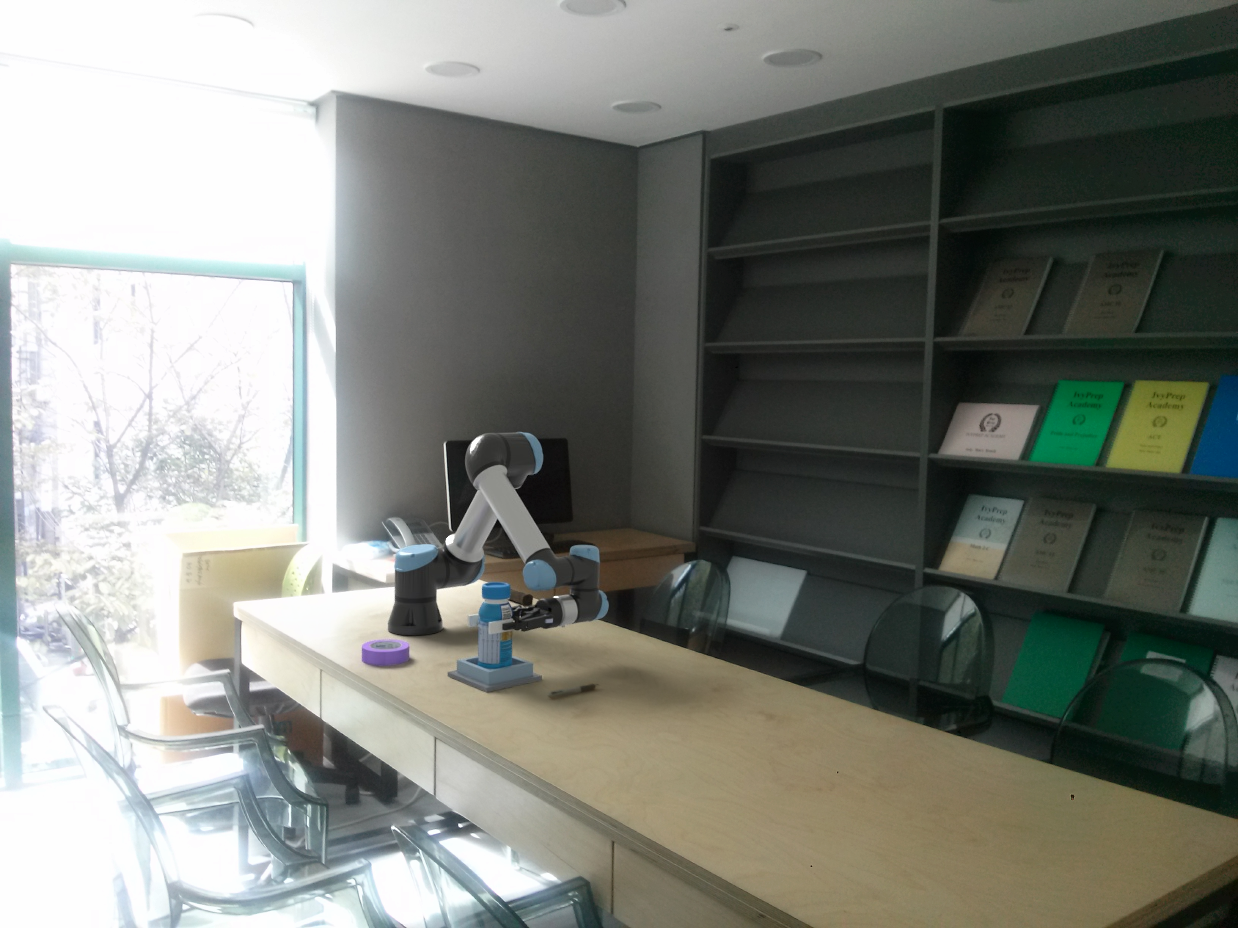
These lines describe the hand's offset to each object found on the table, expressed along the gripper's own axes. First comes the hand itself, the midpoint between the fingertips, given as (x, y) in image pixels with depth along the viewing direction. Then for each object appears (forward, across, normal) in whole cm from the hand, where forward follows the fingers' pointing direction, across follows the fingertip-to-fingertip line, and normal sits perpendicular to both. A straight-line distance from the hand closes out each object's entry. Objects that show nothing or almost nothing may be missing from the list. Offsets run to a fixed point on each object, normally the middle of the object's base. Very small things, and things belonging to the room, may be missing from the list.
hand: (478, 624), depth 237 cm
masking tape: (+7, +30, -14) cm, 34 cm away
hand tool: (-59, +67, -14) cm, 91 cm away
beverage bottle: (-5, 0, -11) cm, 12 cm away
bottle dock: (-5, 0, -14) cm, 14 cm away
